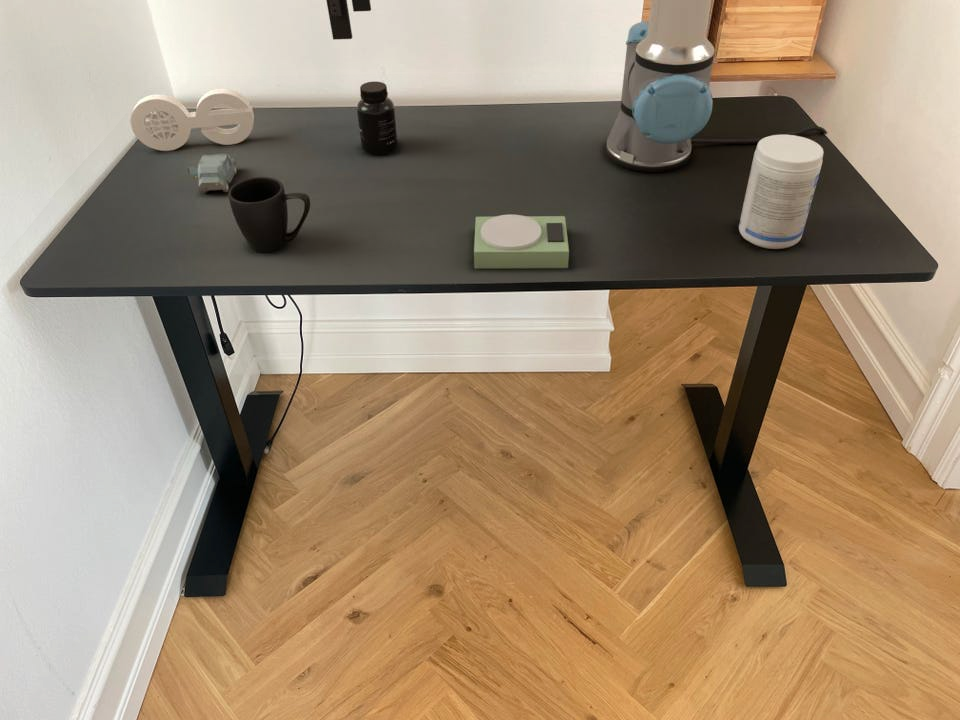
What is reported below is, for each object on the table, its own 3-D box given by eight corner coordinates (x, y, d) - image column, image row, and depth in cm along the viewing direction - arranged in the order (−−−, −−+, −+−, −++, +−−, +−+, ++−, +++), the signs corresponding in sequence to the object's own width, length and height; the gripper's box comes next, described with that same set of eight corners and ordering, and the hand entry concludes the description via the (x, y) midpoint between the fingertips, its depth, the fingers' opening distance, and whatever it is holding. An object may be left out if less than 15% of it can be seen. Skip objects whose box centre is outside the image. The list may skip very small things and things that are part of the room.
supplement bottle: (354, 149, 148) (346, 86, 140) (381, 136, 152) (374, 75, 144) (378, 160, 144) (371, 97, 136) (405, 147, 148) (400, 85, 140)
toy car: (238, 169, 143) (232, 144, 139) (226, 196, 135) (219, 170, 132) (203, 169, 143) (196, 145, 139) (189, 197, 135) (181, 171, 132)
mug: (309, 260, 120) (298, 206, 113) (234, 256, 121) (219, 202, 115) (323, 232, 126) (314, 178, 120) (252, 228, 127) (239, 175, 121)
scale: (564, 232, 124) (565, 212, 122) (567, 268, 117) (569, 248, 114) (476, 232, 125) (475, 213, 122) (474, 268, 117) (473, 248, 115)
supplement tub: (812, 247, 120) (839, 158, 110) (755, 255, 118) (778, 166, 109) (780, 215, 127) (803, 129, 117) (726, 223, 126) (745, 137, 116)
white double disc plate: (140, 153, 148) (123, 102, 142) (141, 148, 150) (125, 97, 143) (258, 141, 151) (247, 90, 144) (258, 136, 153) (247, 86, 146)
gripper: (323, -153, 115) (347, 1, 128) (273, -125, 96) (307, 52, 109) (373, -156, 114) (392, -1, 127) (332, -128, 95) (359, 50, 108)
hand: (353, 24), depth 118 cm, fingers open, 13 cm apart
